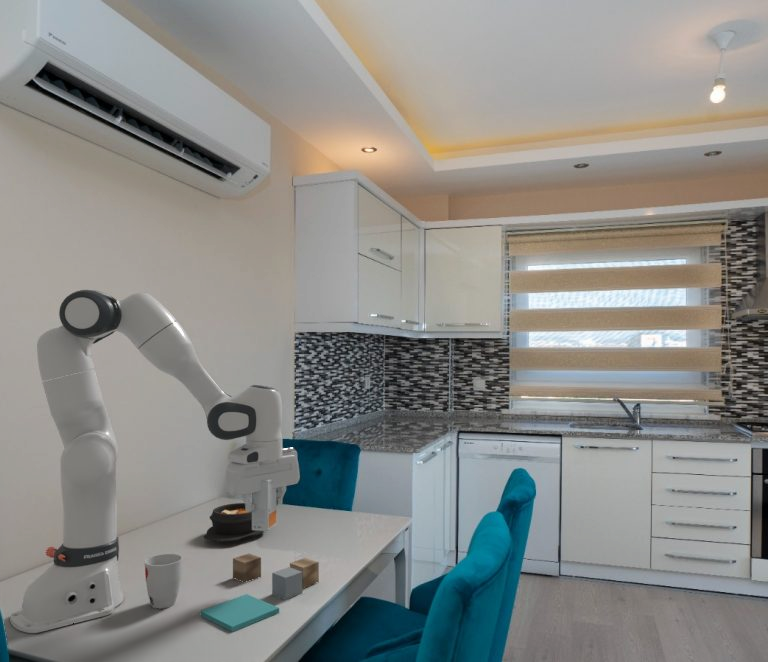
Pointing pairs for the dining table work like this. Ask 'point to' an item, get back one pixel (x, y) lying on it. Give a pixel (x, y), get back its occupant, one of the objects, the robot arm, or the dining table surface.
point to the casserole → (231, 524)
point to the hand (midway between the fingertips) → (264, 508)
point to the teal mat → (239, 612)
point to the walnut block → (246, 567)
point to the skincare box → (264, 507)
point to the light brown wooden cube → (307, 571)
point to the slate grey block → (287, 583)
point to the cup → (163, 579)
